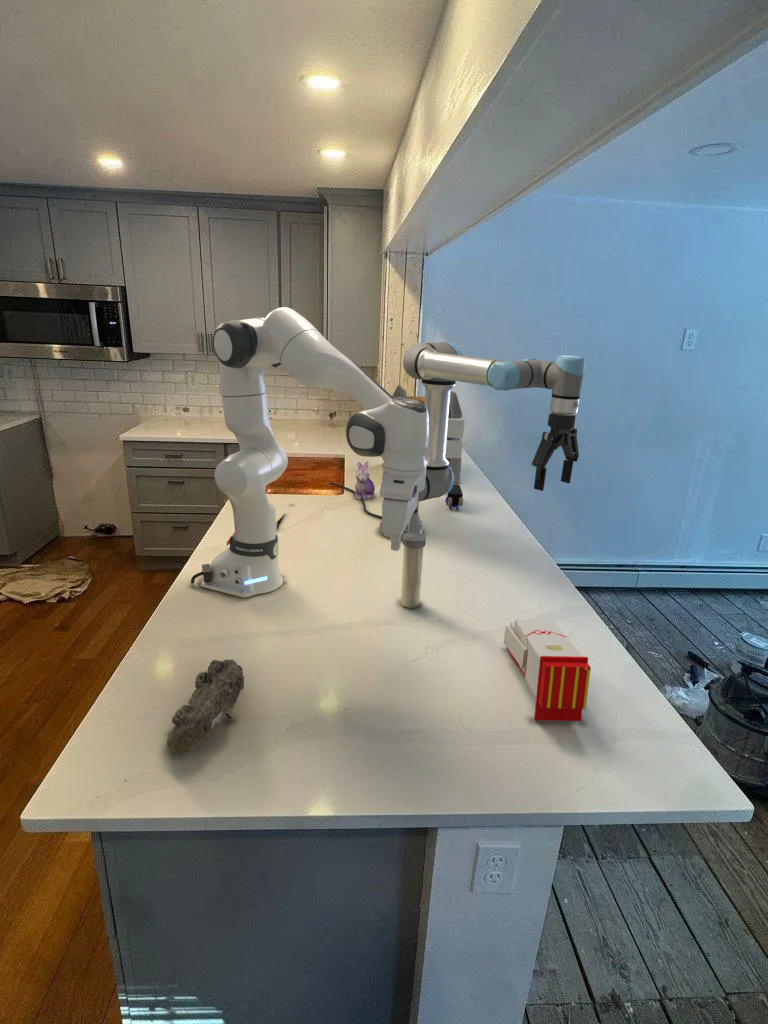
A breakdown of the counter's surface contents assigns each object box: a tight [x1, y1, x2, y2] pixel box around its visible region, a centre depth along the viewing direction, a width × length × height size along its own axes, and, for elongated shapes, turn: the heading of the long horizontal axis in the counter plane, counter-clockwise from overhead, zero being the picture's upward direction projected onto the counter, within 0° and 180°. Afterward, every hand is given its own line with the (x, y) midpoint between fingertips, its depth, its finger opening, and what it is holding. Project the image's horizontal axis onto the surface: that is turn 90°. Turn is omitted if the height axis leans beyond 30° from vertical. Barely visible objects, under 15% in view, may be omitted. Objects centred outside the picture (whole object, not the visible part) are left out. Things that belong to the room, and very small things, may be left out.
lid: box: [401, 533, 427, 549], centre depth 147 cm, size 6×6×2 cm
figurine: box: [354, 460, 376, 501], centre depth 234 cm, size 9×10×15 cm
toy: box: [503, 618, 592, 722], centre depth 122 cm, size 12×13×30 cm
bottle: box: [400, 545, 424, 609], centre depth 150 cm, size 5×5×19 cm
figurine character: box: [444, 483, 464, 511], centre depth 230 cm, size 7×8×15 cm
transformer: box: [383, 384, 465, 484], centre depth 268 cm, size 34×33×41 cm
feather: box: [276, 513, 286, 531], centre depth 210 cm, size 2×28×2 cm
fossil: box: [166, 658, 245, 754], centre depth 106 cm, size 22×10×15 cm
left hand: (400, 540), depth 121 cm, fingers open, 8 cm apart
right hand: (552, 485), depth 166 cm, fingers open, 13 cm apart
